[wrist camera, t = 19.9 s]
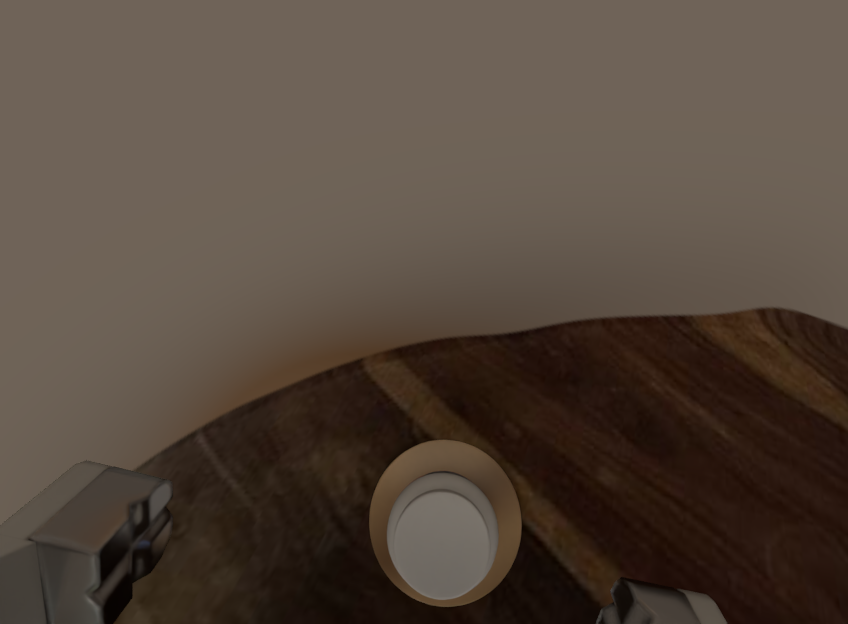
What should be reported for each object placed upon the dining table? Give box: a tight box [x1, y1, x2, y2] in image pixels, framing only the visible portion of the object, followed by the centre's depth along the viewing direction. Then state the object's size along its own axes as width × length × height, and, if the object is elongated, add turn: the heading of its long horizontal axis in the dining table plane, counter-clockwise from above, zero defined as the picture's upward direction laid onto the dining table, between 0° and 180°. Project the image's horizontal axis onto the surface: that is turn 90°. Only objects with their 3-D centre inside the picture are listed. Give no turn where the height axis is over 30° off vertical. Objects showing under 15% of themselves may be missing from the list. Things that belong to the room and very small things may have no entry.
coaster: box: [369, 440, 522, 607], centre depth 27 cm, size 9×9×1 cm
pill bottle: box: [387, 471, 499, 600], centre depth 22 cm, size 5×5×9 cm
